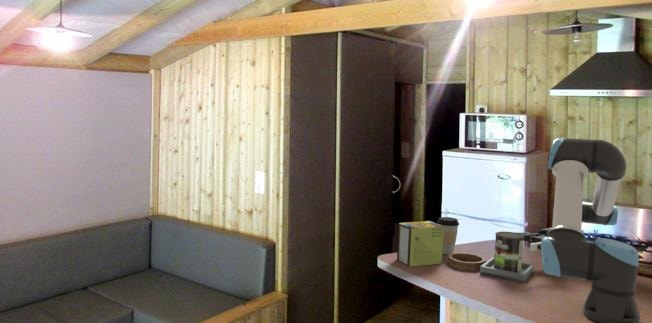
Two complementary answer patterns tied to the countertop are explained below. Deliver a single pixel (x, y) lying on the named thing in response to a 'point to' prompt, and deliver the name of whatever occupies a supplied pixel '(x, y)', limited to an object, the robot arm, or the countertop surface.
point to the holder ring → (473, 265)
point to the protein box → (420, 243)
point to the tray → (518, 277)
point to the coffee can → (508, 251)
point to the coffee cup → (449, 233)
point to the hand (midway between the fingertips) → (515, 243)
